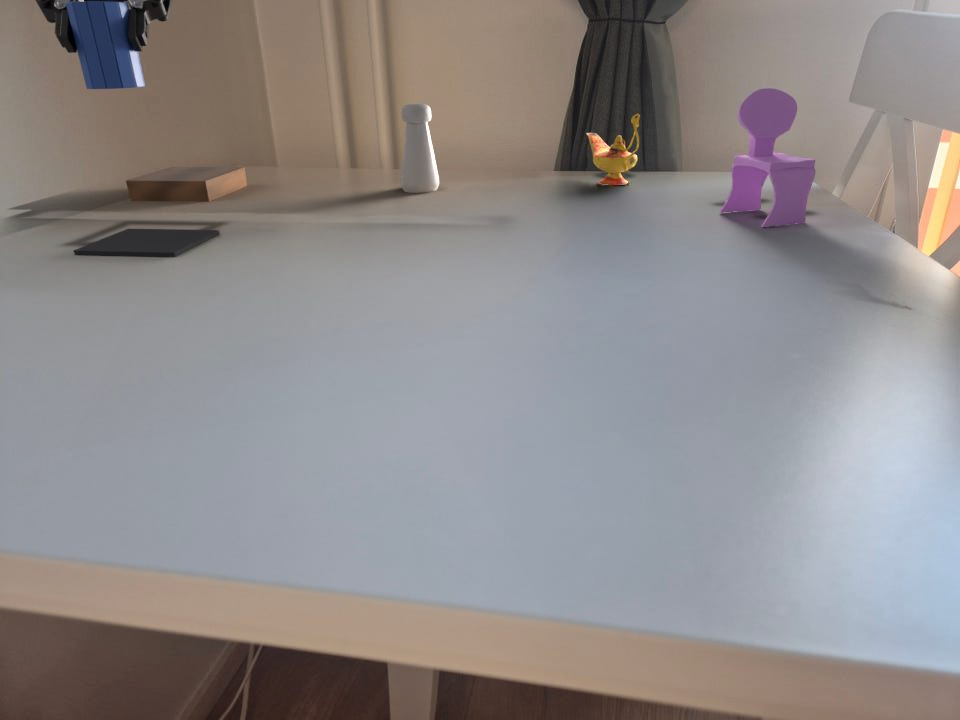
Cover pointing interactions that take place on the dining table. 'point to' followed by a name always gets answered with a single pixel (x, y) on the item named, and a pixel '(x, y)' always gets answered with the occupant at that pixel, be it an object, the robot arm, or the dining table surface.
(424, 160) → the salt shaker
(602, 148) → the magic lamp
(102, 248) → the mat
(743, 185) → the toy chair
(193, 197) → the platform
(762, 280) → the dining table surface
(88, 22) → the blue faceted cup
